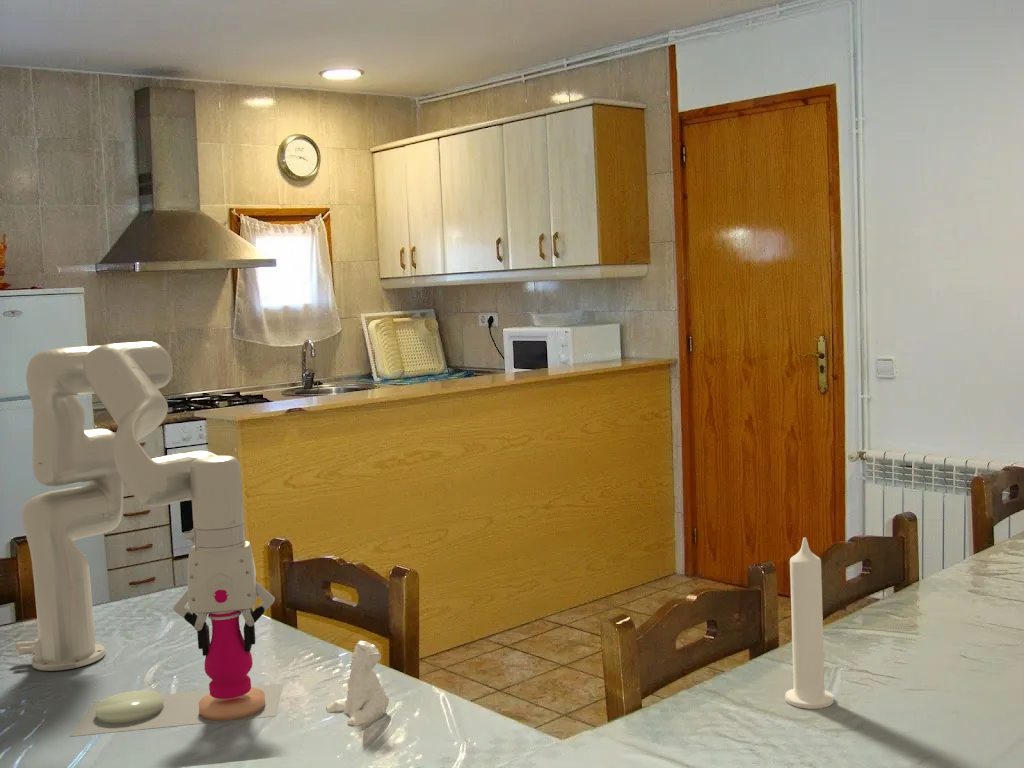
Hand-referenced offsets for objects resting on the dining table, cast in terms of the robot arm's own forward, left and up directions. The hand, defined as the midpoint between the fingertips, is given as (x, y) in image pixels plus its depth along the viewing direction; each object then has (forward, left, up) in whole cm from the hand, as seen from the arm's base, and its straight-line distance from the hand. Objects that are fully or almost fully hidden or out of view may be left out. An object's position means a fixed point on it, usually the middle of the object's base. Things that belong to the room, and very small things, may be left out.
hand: (227, 649), depth 164 cm
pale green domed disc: (-16, +3, -9) cm, 19 cm away
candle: (+87, -17, -11) cm, 89 cm away
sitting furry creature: (+20, -6, -11) cm, 24 cm away
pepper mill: (0, 0, -7) cm, 7 cm away
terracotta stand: (0, 0, -9) cm, 9 cm away
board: (-8, +2, -11) cm, 13 cm away
